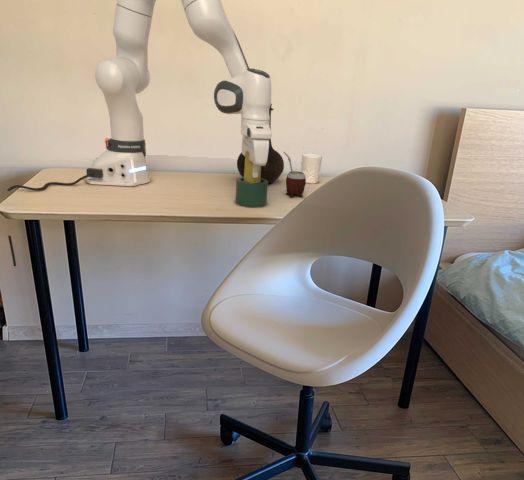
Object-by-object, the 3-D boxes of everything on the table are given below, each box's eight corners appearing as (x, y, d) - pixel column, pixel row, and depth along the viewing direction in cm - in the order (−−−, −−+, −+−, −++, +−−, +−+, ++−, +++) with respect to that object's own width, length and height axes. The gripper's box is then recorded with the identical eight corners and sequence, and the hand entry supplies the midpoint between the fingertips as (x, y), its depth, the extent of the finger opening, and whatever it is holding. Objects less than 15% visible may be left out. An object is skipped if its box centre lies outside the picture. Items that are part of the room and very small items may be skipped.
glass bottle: (227, 179, 199) (229, 99, 185) (261, 175, 210) (266, 99, 195) (257, 189, 188) (262, 105, 174) (291, 184, 198) (299, 105, 184)
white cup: (322, 183, 203) (325, 157, 198) (304, 184, 200) (307, 157, 195) (313, 179, 209) (316, 153, 204) (296, 179, 206) (298, 153, 201)
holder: (239, 207, 164) (240, 183, 160) (232, 199, 172) (233, 176, 169) (269, 207, 167) (271, 184, 163) (261, 199, 175) (263, 176, 171)
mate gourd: (307, 195, 184) (311, 151, 176) (298, 199, 178) (303, 154, 170) (288, 192, 187) (292, 148, 179) (279, 196, 180) (283, 151, 173)
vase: (244, 199, 165) (246, 153, 158) (239, 194, 170) (242, 149, 163) (262, 199, 167) (265, 153, 160) (257, 194, 172) (260, 150, 165)
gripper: (238, 123, 166) (236, 168, 173) (252, 133, 149) (249, 181, 156) (256, 124, 167) (254, 168, 174) (273, 134, 150) (269, 182, 157)
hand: (252, 174), depth 165 cm, fingers closed on vase, 5 cm apart
